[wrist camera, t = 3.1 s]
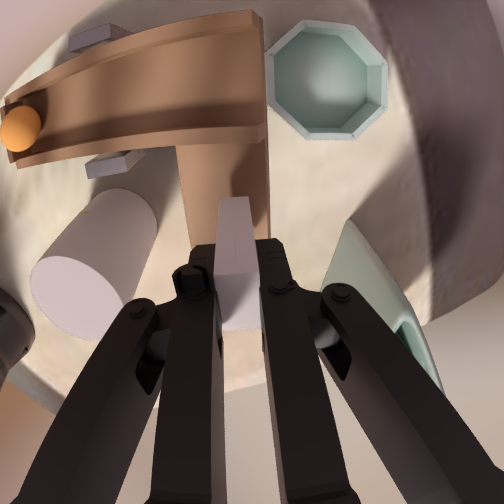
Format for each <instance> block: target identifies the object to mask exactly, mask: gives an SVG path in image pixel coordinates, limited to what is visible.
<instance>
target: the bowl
mask: <svg viewBox="0 0 504 504" xmlns="http://www.w3.org/2000/svg"><path fill="white" fill-rule="evenodd" d="M264 57H265V77H266V99H267V106H268V107H269V108H270V109H271V110H273V111H274V112H275V113H276V114H277V115H278V116H279V117H280V118H281V119H283V120H284V121H285V122H286V123H287V124H288V125H289V126H290V127H291V128H292V129H293V130H294V131H295V132H297V133H298V134H299V135H300V136H302V137H303V138H304V139H306V140H343V141H354V140H356V139H357V138H358V137H359V136H360V135H361V134H362V133H363V132H364V131H365V130H366V129H367V128H368V127H369V126H370V125H372V124H373V123H374V122H375V121H376V120H377V119H378V118H379V117H380V116H381V115H382V114H383V113H384V112H385V111H386V109H387V100H388V64H386V63H387V62H386V60H385V59H384V58H383V57H382V55H381V54H380V53H379V52H378V51H377V50H376V48H375V47H374V46H373V45H372V44H371V43H370V42H369V41H368V39H367V38H366V37H365V36H364V35H363V34H362V33H361V32H360V31H359V30H358V29H357V28H356V27H355V26H353V25H350V24H343V23H336V22H327V21H317V20H305V19H303V20H301V21H300V22H299V23H298V24H296V25H295V26H294V27H293V28H292V29H291V30H289V31H288V32H287V33H286V34H285V35H284V36H283V37H282V38H280V39H279V40H278V41H277V42H276V43H275V44H274V45H273V46H272V47H271V48H270V49H268V50H267V51H266V52H265V53H264Z"/></svg>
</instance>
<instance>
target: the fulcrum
mask: <svg viewBox="0 0 504 504" xmlns="http://www.w3.org/2000/svg"><path fill="white" fill-rule="evenodd" d="M133 34H134V33H132V32H130V31H127V30H125V29H123V28H120V27H118V26H116V25H113V24H111V23H109V24H105V25H102V26H99V27H96V28H93V29H90V30H88V31H85V32H82V33H80V34H77V35H74V36H72V37H69V52H74V53H86V52H88V51H90V50H93V49H95V48H98V47H100V46H103V45H105V44H108V43H110V42H113V41H116V40H118V39H121V38H124V37H127V36H130V35H133ZM153 148H158V147H153ZM151 149H152V148H143V149H133V150H124V151H116V152H108V153H101V154H99V155H98V156H96V157H95V158H93V159H92V160H90V161H89V162H87V163H86V164H85V168H86V172H87V177H88V179H91V178H97V177H102V176H107V175H113V174H118V173H124V172H128V171H129V170H130V169H131V168H132V167H133V166H134V165H135V164H136V163H137V162H138V161H139V160H140V159H141V158H142V157H144V156H145V155H146V154H147V153H148V152H149V151H150V150H151Z"/></svg>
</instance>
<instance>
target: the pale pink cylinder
mask: <svg viewBox="0 0 504 504" xmlns="http://www.w3.org/2000/svg"><path fill="white" fill-rule="evenodd" d="M156 236H157V221H156V217H155V215H154V212H153V210H152V209H151V207H150V206H149V204H148V203H147V202H146V201H145V200H144V199H143V198H142V197H140V196H139V195H137V194H136V193H134V192H132V191H129V190H126V189H121V188H113V189H108V190H105V191H103V192H101V193H99V194H98V195H96V196H95V197H94V198H93V199H92V200H91V201H90V202H89V203H88V205H87V206H86V207H85V208H84V209H83V210H82V211H81V212H80V213H79V214H78V215H77V216H76V217H75V218H74V219H73V221H72V222H71V223H70V224H69V225H68V226H67V227H66V228H65V230H64V231H63V232H62V233H61V234H60V235H59V236H58V238H57V239H56V240H55V241H54V242H53V243H52V245H51V246H50V247H49V248H48V249H47V251H46V252H45V253H44V254H43V256H42V257H41V258H40V259H39V261H38V262H37V263H36V265H35V266H34V267H33V269H32V271H31V275H30V288H31V292H32V295H33V298H34V300H35V302H36V304H37V306H38V307H39V309H40V310H41V311H42V313H43V314H44V315H45V316H46V317H47V318H48V319H49V320H50V321H51V322H52V323H53V324H54V325H56V326H57V327H58V328H60V329H61V330H63V331H64V332H66V333H68V334H70V335H72V336H75V337H77V338H81V339H84V340H90V341H101V339H102V338H103V336H104V334H105V333H106V331H107V330H108V328H109V327H110V325H111V324H112V322H113V321H114V319H115V318H116V316H117V315H118V313H119V312H120V310H121V309H122V307H123V306H124V305H125V304H126V303H128V302H130V301H131V300H133V297H134V294H135V291H136V288H137V286H138V283H139V280H140V277H141V275H142V272H143V269H144V267H145V264H146V262H147V259H148V257H149V254H150V252H151V249H152V247H153V244H154V242H155V239H156Z"/></svg>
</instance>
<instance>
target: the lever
mask: <svg viewBox="0 0 504 504" xmlns="http://www.w3.org/2000/svg"><path fill="white" fill-rule="evenodd" d="M4 99H5V106H3V107H2V108H0V113H1V120H2V121H3V119H4V118H5V116H6V115H7V114H8V113H9V112H10V111H11V110H12V109H14V108H16V107H18V106H29V107H32V108H33V109H35V110H36V111H37V113H38V114H39V117H40V120H41V129H40V133H39V136H38V138H37V139H36V141H35V142H34V143H33V144H32V145H31V146H30V147H29V148H28V149H26V150H23V151H20V152H14V151H10V150H8V149H7V152H8V157H9V161H10V163H13V162H16V166H17V169H21V168H26V167H30V166H35V165H39V164H44V163H49V162H54V161H59V160H64V159H70V158H75V157H81V156H88V155H94V154H101V153H108V152H116V151H124V150H133V149H143V148H153V147H165V146H175V147H176V155H177V162H178V170H179V177H180V183H181V190H182V196H183V203H184V209H185V215H186V221H187V227H188V233H189V238H190V244H191V249H193V248H194V247H195V246H196V245H203V244H215V243H216V234H217V222H218V211H219V200H220V198H229V197H242V196H249V203H250V210H251V217H252V224H253V231H254V238H255V240H257V239H271V227H270V185H269V152H268V124H267V99H266V77H265V57H264V38H263V20H262V18H261V17H260V16H258V15H257V14H256V13H255V12H254V11H253V10H242V11H233V12H226V13H220V14H213V15H208V16H202V17H197V18H192V19H187V20H183V21H179V22H174V23H170V24H167V25H163V26H159V27H155V28H152V29H149V30H145V31H142V32H139V33H136V34H133V35H130V36H127V37H124V38H121V39H118V40H116V41H113V42H110V43H108V44H105V45H103V46H100V47H98V48H95V49H93V50H90V51H88V52H86V53H84V54H81V55H79V56H77V57H75V58H73V59H71V60H69V61H67V62H65V63H63V64H61V65H59V66H57V67H55V68H53V69H51V70H49V71H47V72H45V73H44V74H42V75H40V76H38V77H37V78H35V79H33V80H31V81H30V82H28V83H26V84H25V85H23V86H22V87H20V88H18V89H17V90H15V91H14V92H12V93H11V94H9V95H8V96H6V97H5V98H4Z"/></svg>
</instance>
